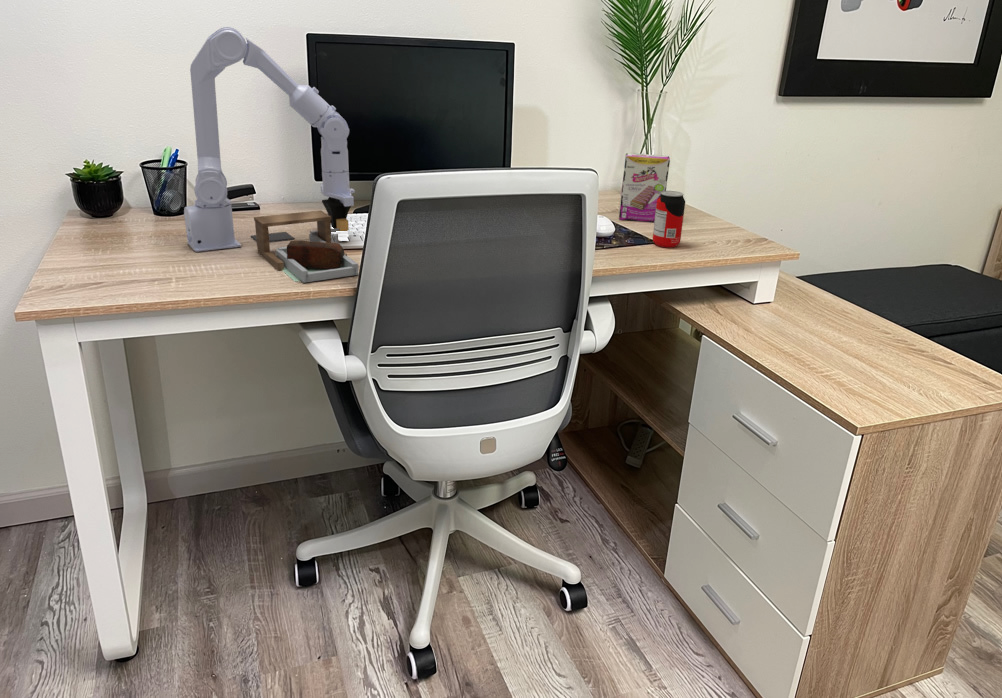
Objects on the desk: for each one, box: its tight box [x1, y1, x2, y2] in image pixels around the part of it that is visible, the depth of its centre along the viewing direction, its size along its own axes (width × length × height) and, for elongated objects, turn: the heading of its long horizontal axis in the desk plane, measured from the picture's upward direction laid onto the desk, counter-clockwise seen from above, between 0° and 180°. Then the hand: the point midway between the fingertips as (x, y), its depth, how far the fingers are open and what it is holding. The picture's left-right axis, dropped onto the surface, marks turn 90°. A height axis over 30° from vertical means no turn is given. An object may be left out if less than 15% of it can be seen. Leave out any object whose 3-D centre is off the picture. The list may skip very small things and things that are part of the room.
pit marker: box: [250, 231, 295, 243], centre depth 174 cm, size 8×6×1 cm
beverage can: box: [652, 190, 686, 249], centre depth 177 cm, size 6×6×12 cm
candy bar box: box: [618, 152, 671, 223], centre depth 198 cm, size 11×5×16 cm, turn 82°
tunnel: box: [253, 210, 348, 272], centre depth 160 cm, size 14×14×8 cm
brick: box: [286, 239, 345, 269], centre depth 154 cm, size 11×4×5 cm, turn 92°
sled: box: [275, 218, 359, 283], centre depth 159 cm, size 18×25×5 cm
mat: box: [281, 267, 343, 283], centre depth 154 cm, size 13×10×1 cm
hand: (338, 231), depth 175 cm, fingers closed
